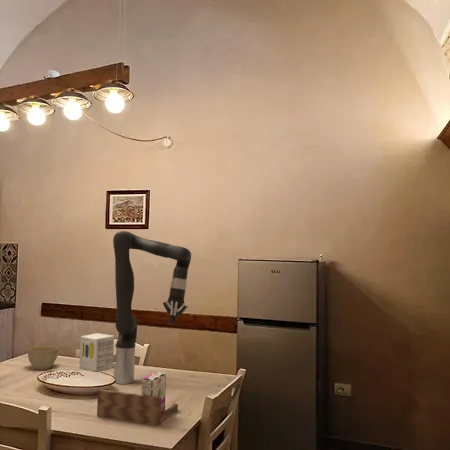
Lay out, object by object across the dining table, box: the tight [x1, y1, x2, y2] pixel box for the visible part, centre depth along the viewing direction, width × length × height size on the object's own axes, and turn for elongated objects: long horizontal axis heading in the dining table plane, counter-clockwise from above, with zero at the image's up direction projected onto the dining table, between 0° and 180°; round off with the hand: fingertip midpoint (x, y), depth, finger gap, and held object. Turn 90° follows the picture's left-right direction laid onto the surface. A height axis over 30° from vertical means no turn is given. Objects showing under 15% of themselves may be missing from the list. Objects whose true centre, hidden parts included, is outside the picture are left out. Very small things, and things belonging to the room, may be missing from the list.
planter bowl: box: [27, 344, 60, 371], centre depth 256 cm, size 16×16×11 cm
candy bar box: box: [141, 371, 167, 414], centre depth 186 cm, size 11×5×16 cm, turn 159°
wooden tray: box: [96, 389, 179, 426], centre depth 190 cm, size 27×18×10 cm, turn 72°
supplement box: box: [79, 332, 115, 372], centre depth 259 cm, size 13×13×18 cm
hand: (172, 323), depth 228 cm, fingers closed
